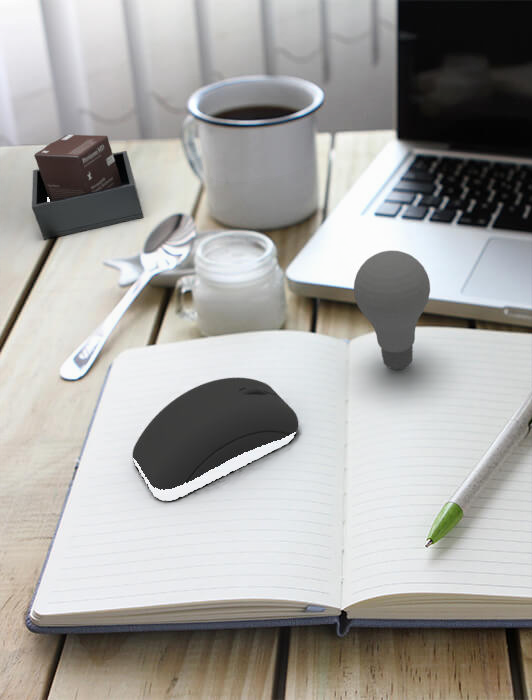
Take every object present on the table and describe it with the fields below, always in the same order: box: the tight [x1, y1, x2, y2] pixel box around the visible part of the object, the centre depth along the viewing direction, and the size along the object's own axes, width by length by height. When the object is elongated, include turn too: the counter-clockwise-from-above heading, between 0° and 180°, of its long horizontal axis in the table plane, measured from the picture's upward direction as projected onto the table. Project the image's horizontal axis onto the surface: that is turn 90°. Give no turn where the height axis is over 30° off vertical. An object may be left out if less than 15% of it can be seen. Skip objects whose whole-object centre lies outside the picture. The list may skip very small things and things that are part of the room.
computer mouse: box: [132, 377, 299, 490], centre depth 55 cm, size 6×11×4 cm, turn 123°
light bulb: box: [353, 250, 431, 370], centre depth 59 cm, size 6×6×10 cm
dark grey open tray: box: [31, 150, 144, 241], centre depth 90 cm, size 11×11×4 cm
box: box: [33, 134, 122, 201], centre depth 89 cm, size 6×6×7 cm
